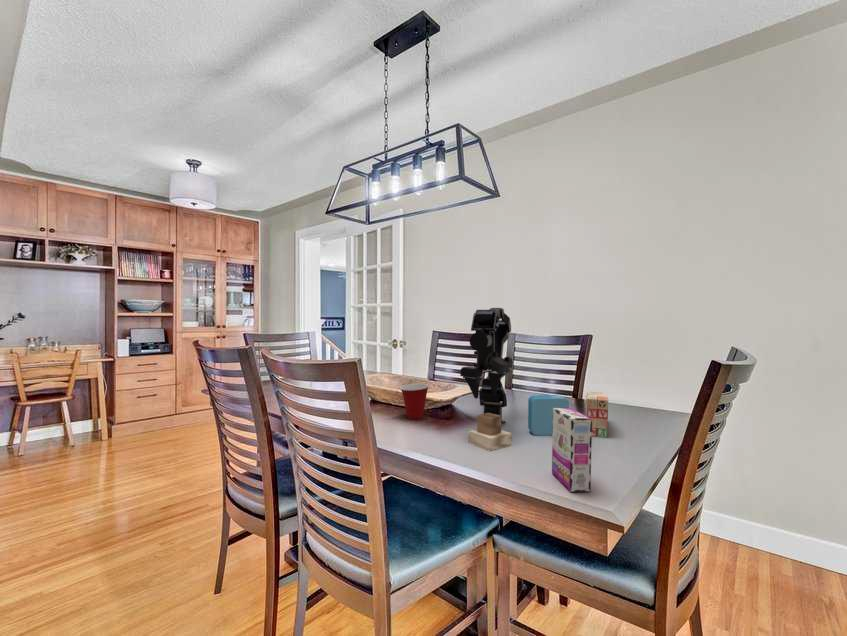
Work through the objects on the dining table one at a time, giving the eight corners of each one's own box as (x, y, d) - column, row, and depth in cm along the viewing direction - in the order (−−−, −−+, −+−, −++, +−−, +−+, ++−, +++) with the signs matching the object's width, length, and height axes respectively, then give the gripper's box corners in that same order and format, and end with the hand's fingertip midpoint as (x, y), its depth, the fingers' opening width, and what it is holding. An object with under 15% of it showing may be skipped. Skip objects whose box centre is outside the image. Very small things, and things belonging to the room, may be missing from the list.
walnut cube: (487, 428, 130) (487, 412, 129) (501, 432, 126) (501, 415, 126) (477, 432, 126) (477, 415, 126) (491, 435, 122) (491, 418, 122)
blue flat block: (563, 431, 140) (564, 395, 139) (568, 435, 135) (569, 398, 135) (527, 431, 139) (528, 395, 139) (531, 435, 135) (531, 398, 135)
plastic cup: (400, 413, 162) (400, 382, 161) (428, 413, 162) (428, 382, 161) (398, 421, 151) (398, 388, 151) (428, 421, 151) (429, 388, 151)
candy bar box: (592, 492, 93) (593, 418, 93) (570, 493, 93) (571, 419, 92) (570, 472, 104) (571, 406, 104) (550, 473, 104) (551, 407, 103)
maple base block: (489, 438, 132) (489, 426, 132) (511, 446, 125) (511, 433, 125) (468, 444, 127) (468, 431, 127) (489, 452, 120) (489, 438, 120)
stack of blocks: (586, 419, 155) (586, 386, 154) (604, 421, 152) (605, 387, 152) (586, 436, 135) (587, 398, 134) (607, 438, 132) (608, 399, 132)
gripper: (487, 352, 124) (487, 405, 125) (523, 348, 137) (522, 396, 137) (459, 349, 132) (458, 398, 133) (495, 346, 145) (495, 391, 145)
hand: (485, 396), depth 137 cm, fingers open, 9 cm apart
